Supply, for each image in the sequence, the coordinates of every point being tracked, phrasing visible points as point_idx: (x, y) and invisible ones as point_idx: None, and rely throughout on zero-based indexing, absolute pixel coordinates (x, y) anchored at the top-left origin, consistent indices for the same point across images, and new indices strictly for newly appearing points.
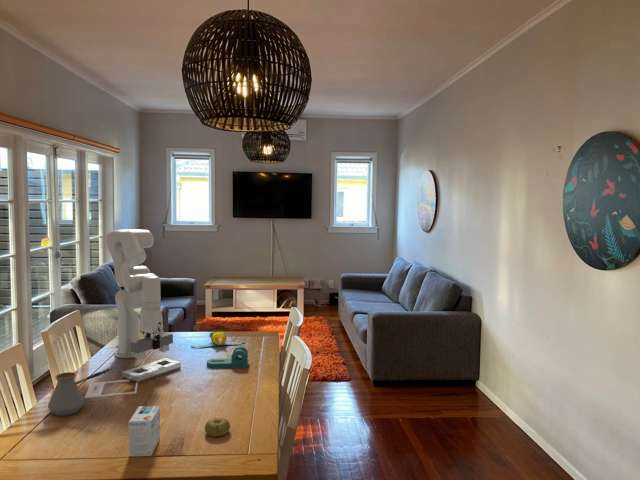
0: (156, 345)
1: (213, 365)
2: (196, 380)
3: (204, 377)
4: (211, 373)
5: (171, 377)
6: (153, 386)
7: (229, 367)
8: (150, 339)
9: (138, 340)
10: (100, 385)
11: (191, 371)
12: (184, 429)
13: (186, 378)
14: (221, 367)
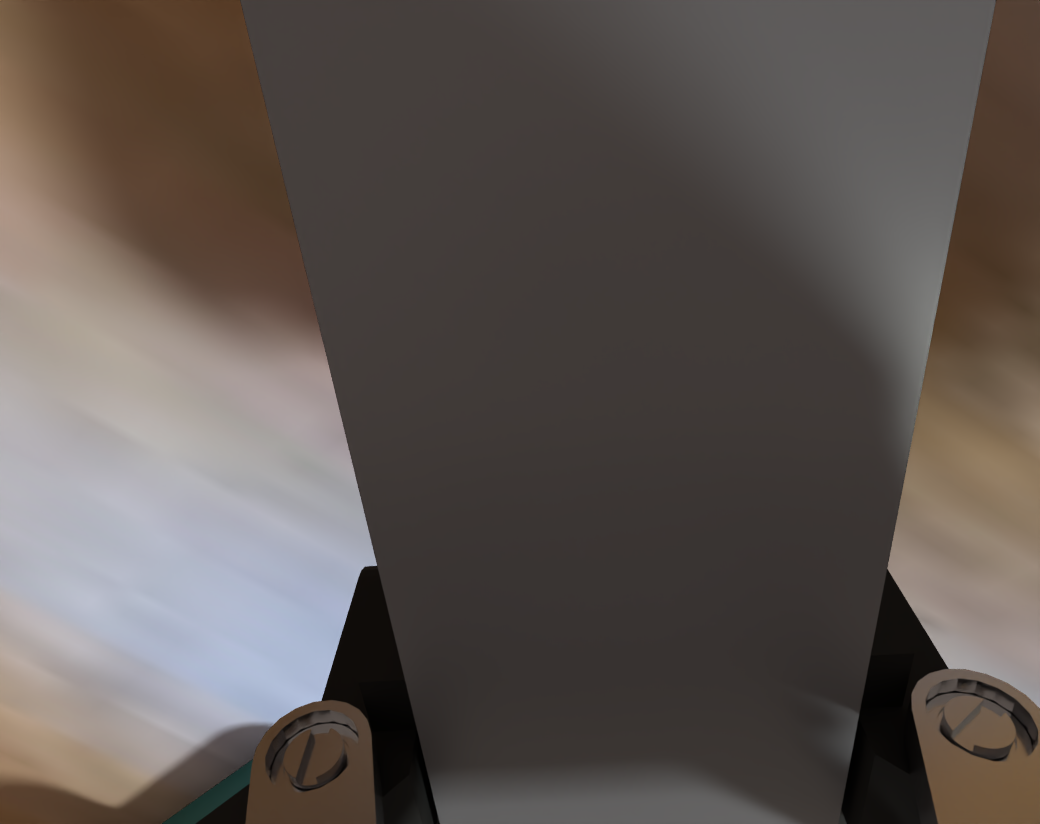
0: (352, 603)
1: (246, 780)
2: (7, 492)
3: (51, 584)
4: (125, 676)
5: (283, 378)
6: (98, 5)
7: (168, 822)
8: (469, 673)
9: (802, 288)
10: None
11: (314, 607)
12: None
13: (135, 463)
14: (210, 793)
